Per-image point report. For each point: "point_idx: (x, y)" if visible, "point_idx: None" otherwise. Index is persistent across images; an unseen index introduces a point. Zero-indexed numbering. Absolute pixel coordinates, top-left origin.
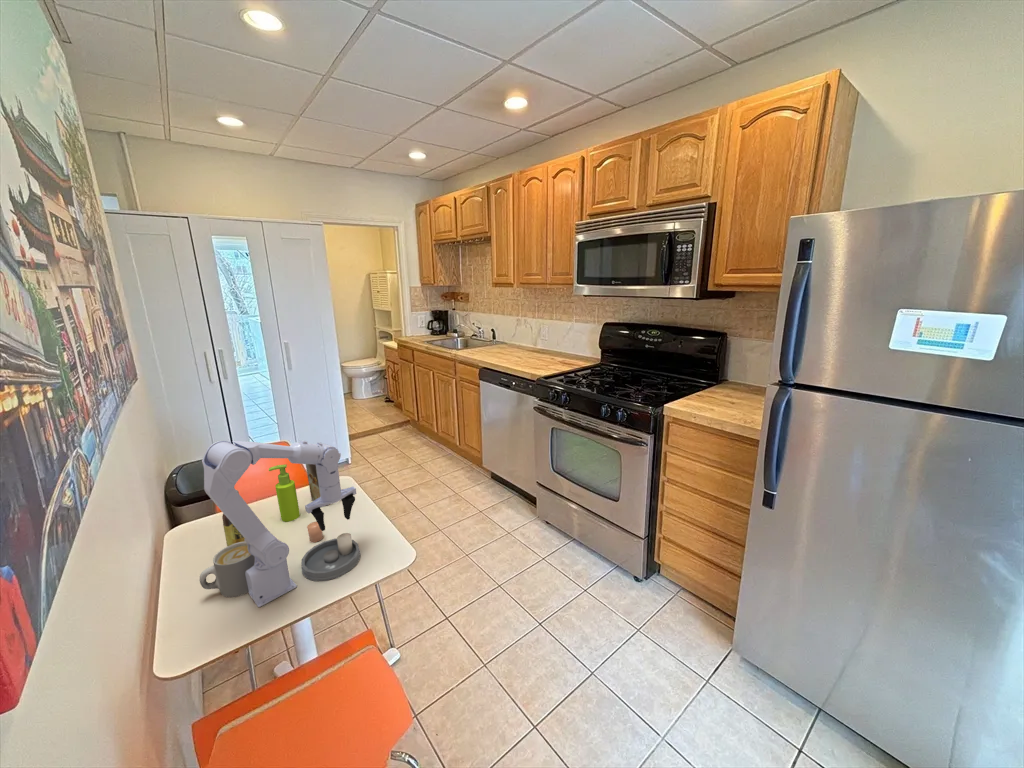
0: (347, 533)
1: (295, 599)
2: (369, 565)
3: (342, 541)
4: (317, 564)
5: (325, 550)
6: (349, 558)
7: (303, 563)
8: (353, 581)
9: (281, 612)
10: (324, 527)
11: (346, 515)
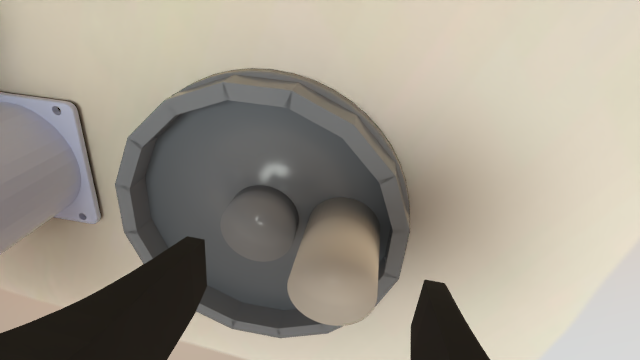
0: (368, 284)
1: (88, 262)
2: (356, 344)
3: (301, 309)
4: (199, 195)
5: (277, 130)
6: None
7: (127, 176)
8: (267, 351)
9: (42, 272)
10: (188, 315)
11: (418, 344)
